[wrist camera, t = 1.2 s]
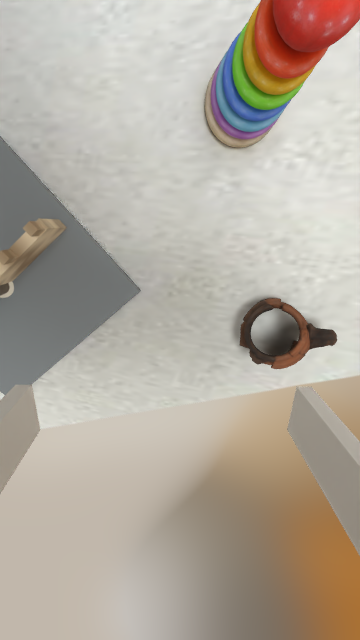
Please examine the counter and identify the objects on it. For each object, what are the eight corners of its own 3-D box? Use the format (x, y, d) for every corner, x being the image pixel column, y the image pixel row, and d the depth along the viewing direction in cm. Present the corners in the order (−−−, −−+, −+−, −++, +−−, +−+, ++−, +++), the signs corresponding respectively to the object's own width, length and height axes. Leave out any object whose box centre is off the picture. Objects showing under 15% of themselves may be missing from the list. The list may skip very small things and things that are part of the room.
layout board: (-143, 278, 33) (-148, 279, 32) (-13, 122, 28) (-17, 120, 27) (14, 398, 40) (12, 401, 39) (140, 290, 35) (140, 291, 34)
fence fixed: (2, 297, 34) (-44, 317, 27) (-12, 284, 33) (-63, 301, 26) (69, 231, 32) (39, 232, 24) (55, 216, 31) (20, 213, 24)
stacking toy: (190, 122, 29) (223, -41, 11) (230, 41, 27) (351, -321, 9) (248, 164, 30) (358, 80, 13) (291, 91, 28) (495, -133, 11)
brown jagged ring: (244, 367, 40) (241, 373, 32) (238, 306, 41) (234, 298, 33) (331, 363, 37) (351, 368, 29) (322, 297, 38) (340, 285, 30)
